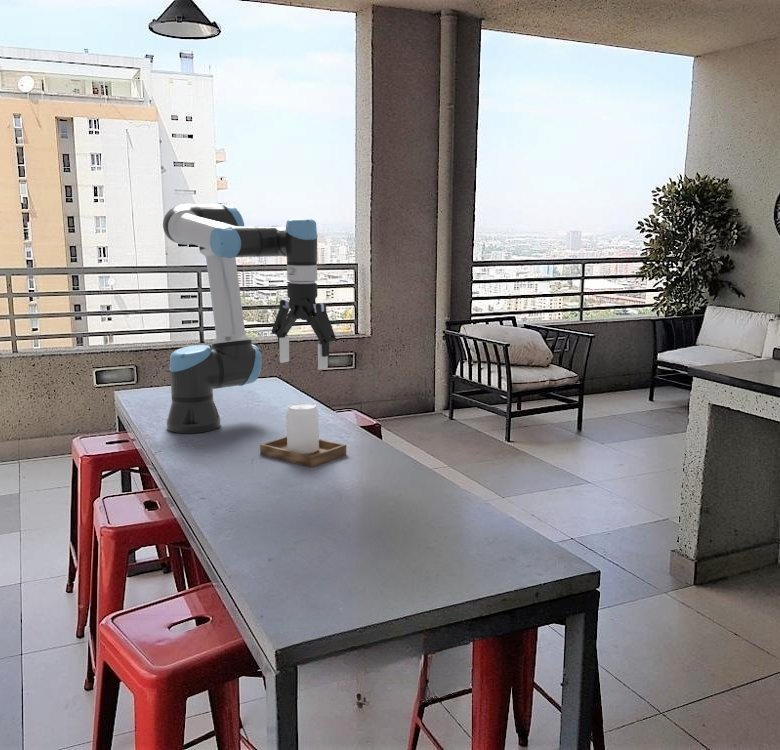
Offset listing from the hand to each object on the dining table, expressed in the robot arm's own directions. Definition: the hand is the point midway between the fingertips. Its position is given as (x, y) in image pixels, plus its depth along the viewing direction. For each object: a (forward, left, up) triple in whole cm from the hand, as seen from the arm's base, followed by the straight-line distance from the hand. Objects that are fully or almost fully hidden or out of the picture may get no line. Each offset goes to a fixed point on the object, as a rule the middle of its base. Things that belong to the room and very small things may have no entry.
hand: (303, 365), depth 189 cm
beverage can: (+2, -3, -22) cm, 22 cm away
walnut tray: (+2, -3, -23) cm, 23 cm away
